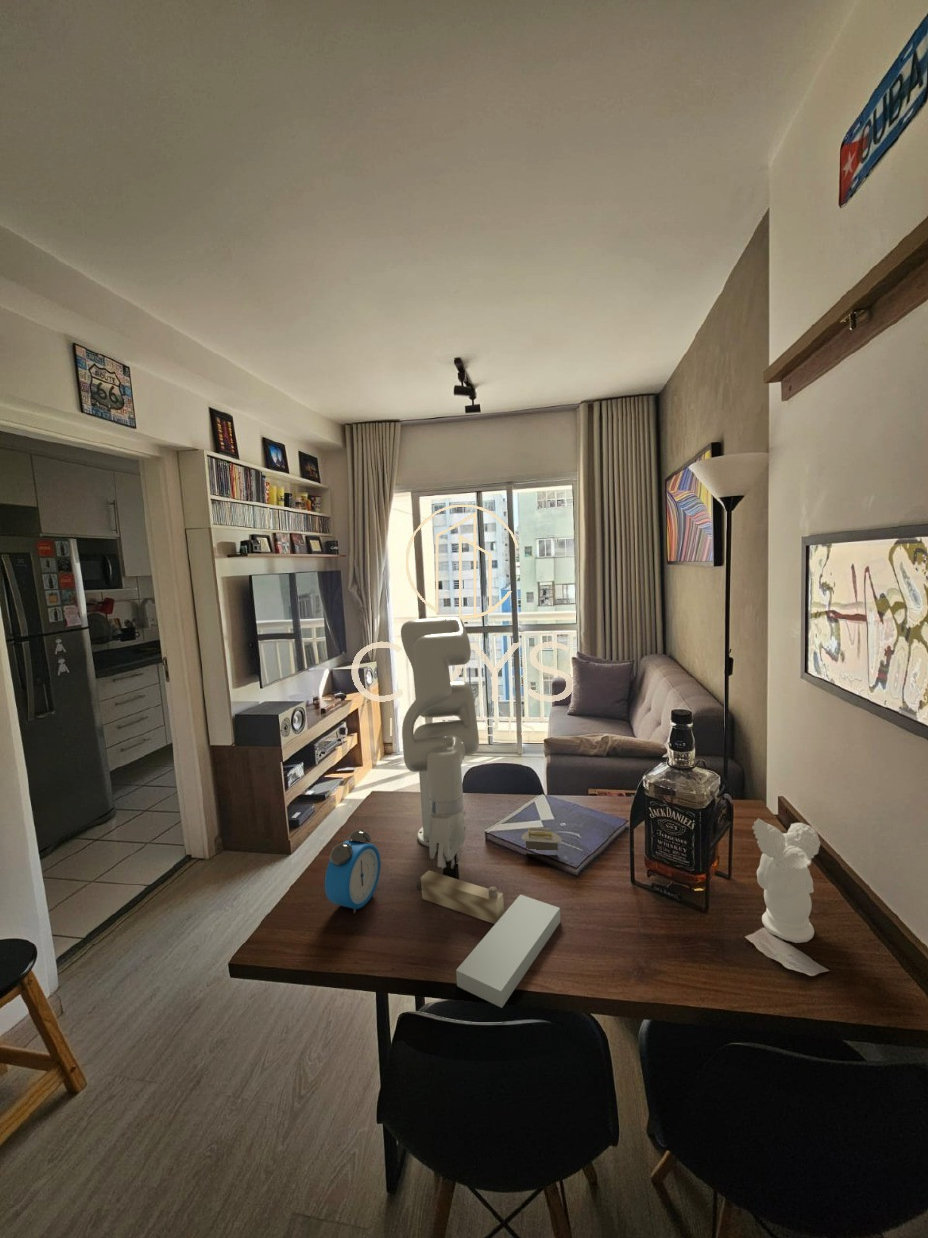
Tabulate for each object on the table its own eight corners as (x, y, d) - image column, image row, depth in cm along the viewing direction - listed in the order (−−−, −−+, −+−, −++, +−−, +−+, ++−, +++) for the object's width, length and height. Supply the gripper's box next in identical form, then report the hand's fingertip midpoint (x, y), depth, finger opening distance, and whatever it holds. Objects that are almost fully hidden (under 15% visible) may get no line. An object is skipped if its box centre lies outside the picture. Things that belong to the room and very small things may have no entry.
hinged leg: (504, 916, 108) (502, 886, 107) (497, 925, 105) (495, 895, 104) (426, 889, 118) (424, 862, 118) (417, 897, 115) (415, 870, 115)
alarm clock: (349, 924, 109) (343, 855, 107) (325, 917, 111) (319, 850, 110) (383, 887, 120) (378, 825, 119) (361, 882, 123) (356, 821, 121)
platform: (510, 840, 139) (509, 816, 138) (579, 844, 135) (578, 820, 134) (503, 865, 127) (502, 840, 127) (578, 871, 123) (577, 845, 122)
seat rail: (521, 907, 110) (520, 894, 110) (560, 922, 105) (559, 908, 105) (457, 986, 91) (456, 970, 90) (501, 1008, 86) (500, 991, 85)
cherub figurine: (807, 915, 104) (811, 809, 101) (841, 962, 91) (846, 843, 89) (742, 910, 106) (743, 807, 103) (766, 955, 93) (769, 839, 91)
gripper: (444, 787, 123) (448, 861, 125) (416, 816, 109) (422, 899, 111) (473, 790, 121) (478, 865, 122) (449, 821, 107) (454, 905, 108)
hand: (451, 881), depth 117 cm, fingers closed
